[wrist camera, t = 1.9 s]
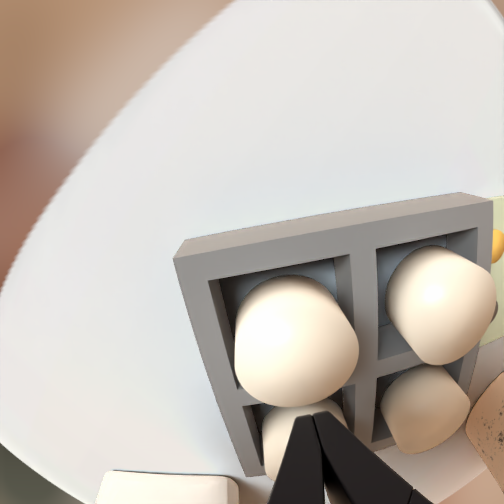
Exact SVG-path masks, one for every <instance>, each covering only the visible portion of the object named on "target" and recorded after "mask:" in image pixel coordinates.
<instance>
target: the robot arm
mask: <svg viewBox="0 0 504 504" xmlns="http://www.w3.org/2000/svg"><path fill="white" fill-rule="evenodd" d="M324 486H325V489H326V492H327V495H328V498H329V501H330V504H433V503H432V502H431V501H429V500H428V499H427V498H425V497H424V496H423V495H422V494H421V493H420V492H418V491H417V490H416V489H413V487H412V486H411V485H410V484H409V483H407V482H406V481H405V480H404V479H403V478H402V477H401V476H399V475H398V474H397V473H396V472H395V471H394V470H393V469H391V468H390V467H389V466H388V465H387V464H386V463H385V462H383V461H382V460H381V459H380V458H379V457H378V456H377V455H376V454H375V453H373V452H372V451H371V450H370V449H369V448H368V447H367V446H366V445H365V444H364V443H362V442H361V441H360V440H359V439H358V438H357V437H356V436H355V435H354V434H353V433H352V432H351V431H350V430H348V429H347V428H346V427H345V426H344V425H343V424H342V423H341V422H340V421H339V420H338V419H337V418H336V417H335V416H334V415H333V414H332V413H331V412H329V411H327V410H326V411H321V412H316V413H314V414H313V415H311V414H307V415H302V416H297V417H296V418H295V420H294V423H293V426H292V430H291V433H290V436H289V440H288V443H287V446H286V449H285V452H284V456H283V459H282V462H281V465H280V468H279V471H278V474H277V477H276V480H275V482H274V485H273V488H272V491H271V494H270V497H269V499H268V502H267V504H325V493H324Z"/></svg>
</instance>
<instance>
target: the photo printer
mask: <svg viewBox="0 0 504 504" xmlns="http://www.w3.org/2000/svg"><path fill="white" fill-rule="evenodd" d="M95 504H239V489H238V485H237V484H236V483H235V482H234V481H233V480H232V479H230V478H228V477H224V476H194V475H166V474H148V473H134V472H122V471H108V472H106V474H105V476H104V478H103V481H102V484H101V487H100V490H99V493H98V496H97V499H96V502H95Z"/></svg>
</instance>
